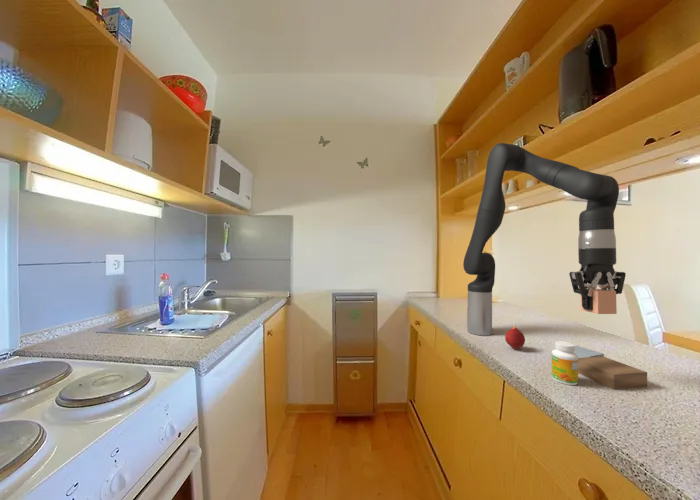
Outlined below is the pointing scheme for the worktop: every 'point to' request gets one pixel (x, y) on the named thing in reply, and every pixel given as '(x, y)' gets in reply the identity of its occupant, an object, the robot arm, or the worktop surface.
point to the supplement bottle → (565, 363)
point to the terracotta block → (603, 302)
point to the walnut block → (611, 373)
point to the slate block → (586, 352)
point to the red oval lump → (515, 338)
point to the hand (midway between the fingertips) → (597, 309)
